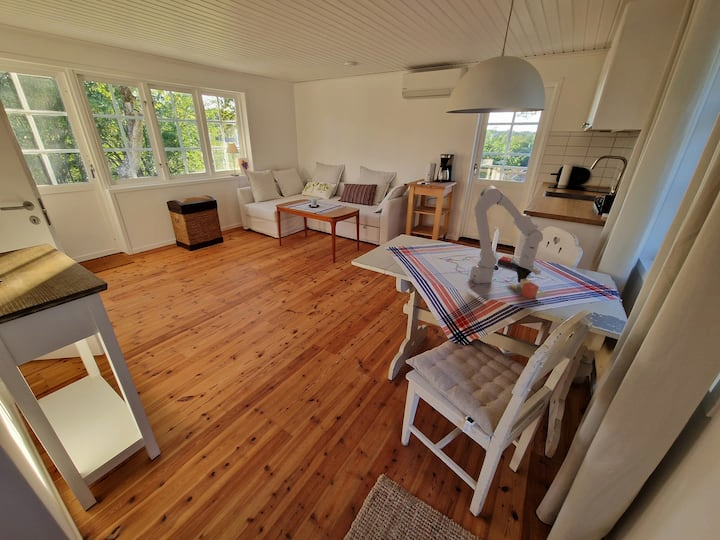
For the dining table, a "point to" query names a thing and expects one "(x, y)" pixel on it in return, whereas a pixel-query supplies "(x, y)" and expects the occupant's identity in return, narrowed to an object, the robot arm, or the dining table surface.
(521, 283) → the switch handle
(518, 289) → the panel
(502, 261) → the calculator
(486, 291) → the dining table surface
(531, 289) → the block
